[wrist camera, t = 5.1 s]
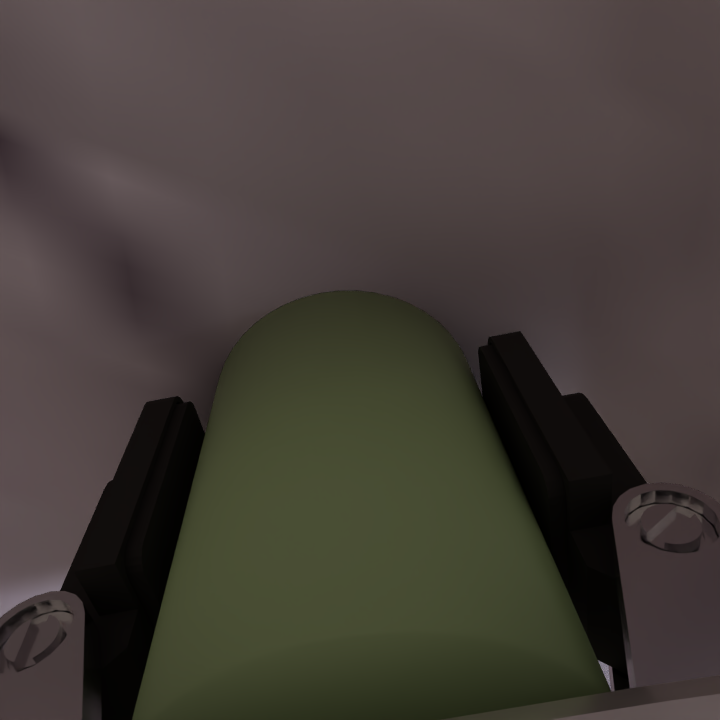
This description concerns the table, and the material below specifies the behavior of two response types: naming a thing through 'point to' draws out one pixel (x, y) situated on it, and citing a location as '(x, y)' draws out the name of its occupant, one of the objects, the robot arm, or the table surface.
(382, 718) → the green pear
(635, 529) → the robot arm
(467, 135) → the table surface
